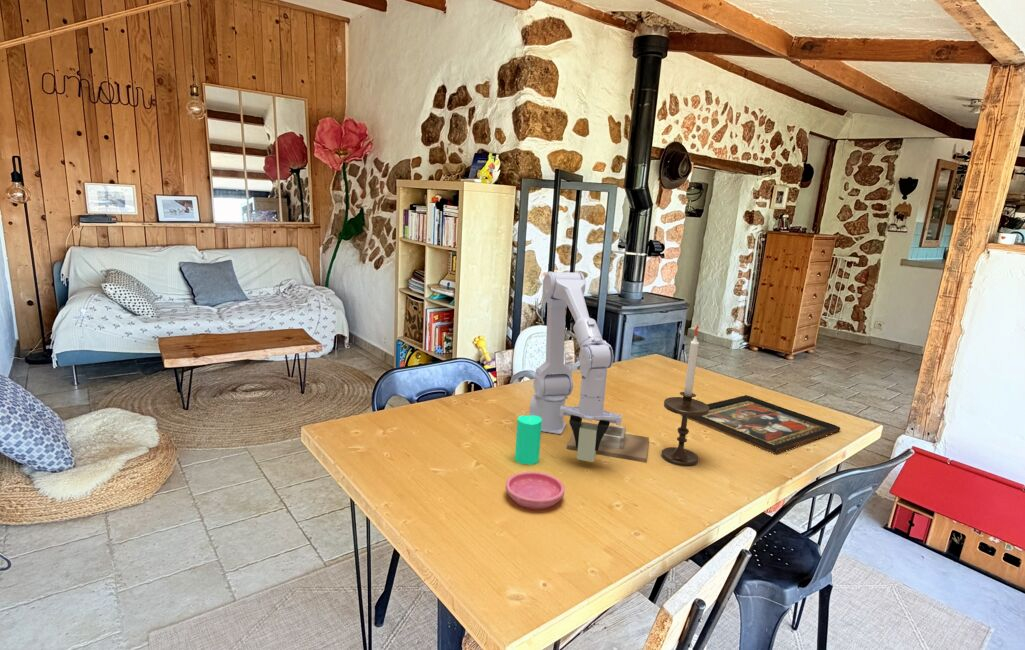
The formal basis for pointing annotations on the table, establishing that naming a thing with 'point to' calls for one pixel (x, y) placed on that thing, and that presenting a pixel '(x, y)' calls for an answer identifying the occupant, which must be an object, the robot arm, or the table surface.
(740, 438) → the religious icon
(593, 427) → the rectangular block
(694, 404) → the candlestick
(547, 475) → the saucer
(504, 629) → the table surface
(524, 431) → the green upright cylinder
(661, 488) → the table surface
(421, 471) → the table surface
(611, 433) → the brown socket board
